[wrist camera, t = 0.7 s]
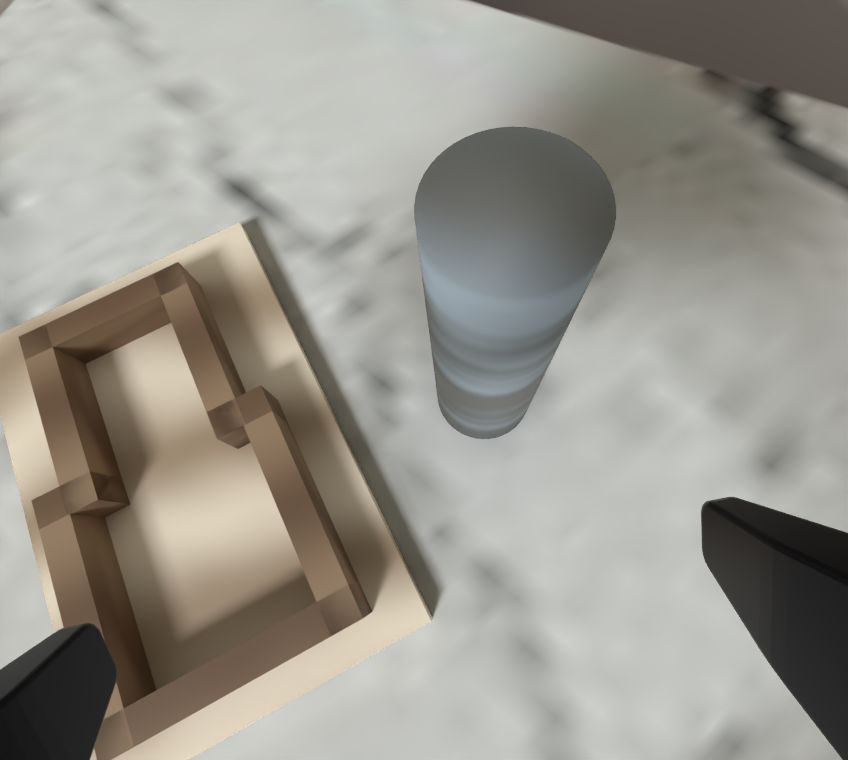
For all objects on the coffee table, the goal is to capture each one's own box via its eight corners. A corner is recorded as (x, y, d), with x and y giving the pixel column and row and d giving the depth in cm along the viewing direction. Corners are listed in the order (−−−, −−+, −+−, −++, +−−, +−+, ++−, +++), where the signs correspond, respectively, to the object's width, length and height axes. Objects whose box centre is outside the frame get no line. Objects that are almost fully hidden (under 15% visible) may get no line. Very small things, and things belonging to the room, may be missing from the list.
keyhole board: (432, 618, 20) (428, 629, 17) (116, 798, 19) (55, 842, 16) (247, 233, 26) (221, 195, 23) (0, 350, 25) (-59, 324, 22)
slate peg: (523, 446, 22) (608, 308, 9) (430, 430, 22) (397, 280, 10) (533, 358, 23) (622, 136, 11) (445, 346, 23) (432, 118, 11)
